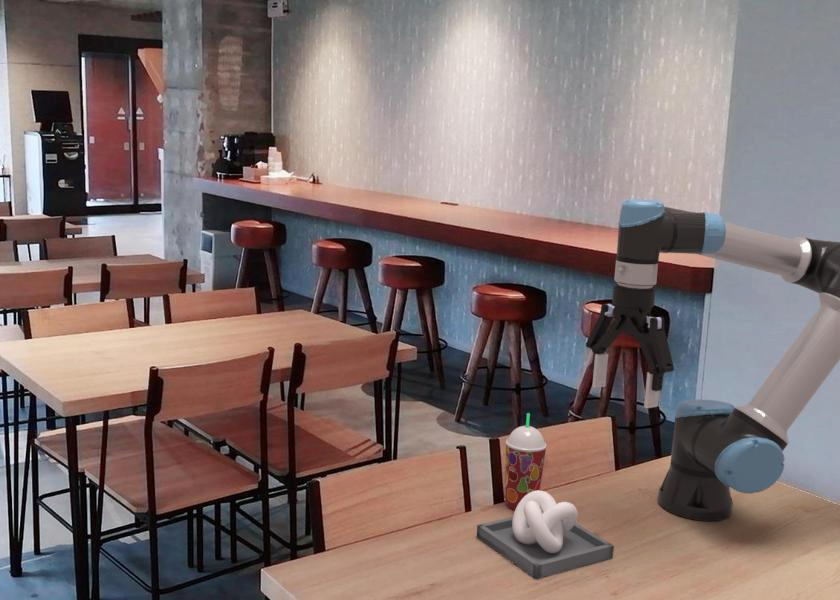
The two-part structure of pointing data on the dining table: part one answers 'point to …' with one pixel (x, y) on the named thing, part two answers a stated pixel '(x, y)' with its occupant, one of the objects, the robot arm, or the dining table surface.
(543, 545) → the white trefoil knot
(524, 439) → the smoothie
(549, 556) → the tray
